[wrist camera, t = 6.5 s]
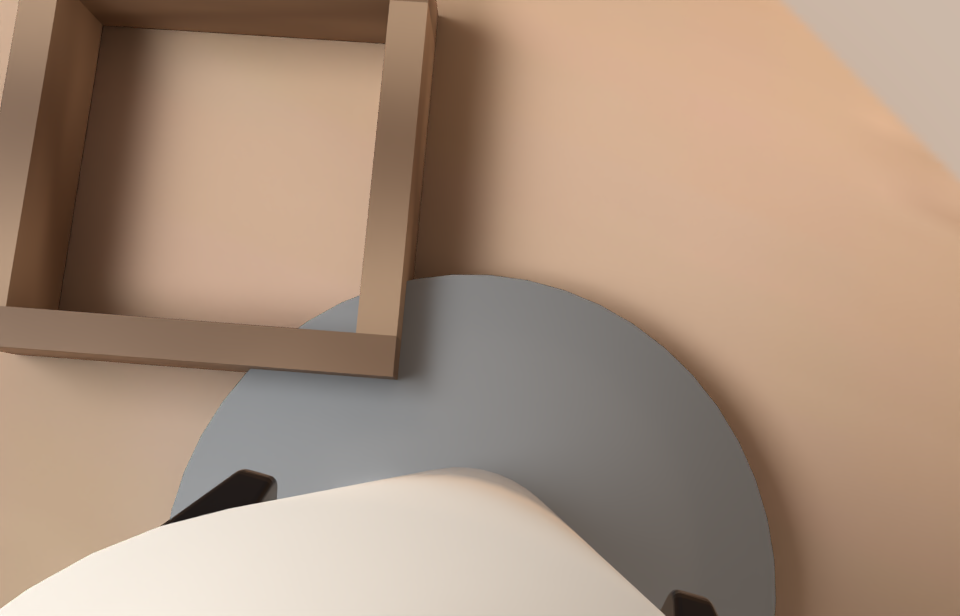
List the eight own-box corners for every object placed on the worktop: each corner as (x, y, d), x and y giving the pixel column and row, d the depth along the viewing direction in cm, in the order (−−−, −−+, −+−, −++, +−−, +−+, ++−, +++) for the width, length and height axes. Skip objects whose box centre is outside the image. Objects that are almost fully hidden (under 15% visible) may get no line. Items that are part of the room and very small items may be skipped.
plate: (748, 909, 17) (767, 943, 16) (146, 850, 18) (120, 879, 16) (765, 305, 19) (783, 296, 18) (221, 266, 19) (203, 254, 18)
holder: (403, 384, 19) (392, 376, 17) (15, 354, 19) (-41, 343, 17) (438, 13, 20) (431, -34, 18) (74, -9, 21) (28, -58, 19)
